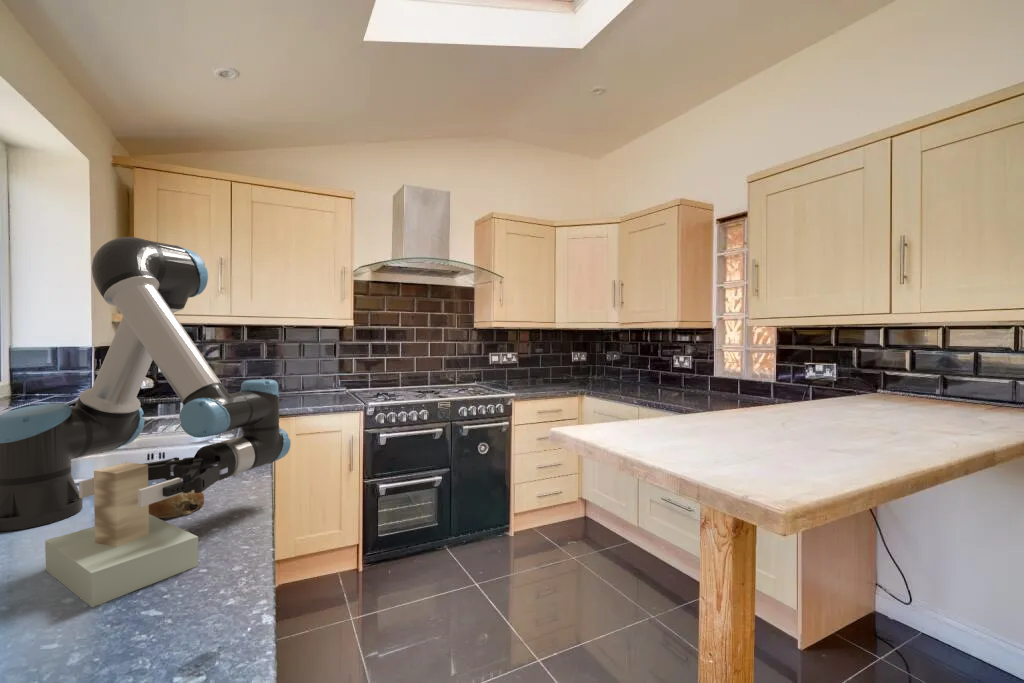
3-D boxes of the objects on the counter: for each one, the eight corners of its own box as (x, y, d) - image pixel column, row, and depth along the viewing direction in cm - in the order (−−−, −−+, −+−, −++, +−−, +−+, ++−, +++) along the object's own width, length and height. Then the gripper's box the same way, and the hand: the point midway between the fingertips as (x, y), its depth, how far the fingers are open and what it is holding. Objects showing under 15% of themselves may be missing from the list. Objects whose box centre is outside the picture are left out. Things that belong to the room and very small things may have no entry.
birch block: (94, 542, 76) (93, 470, 76) (127, 530, 81) (126, 462, 81) (116, 547, 75) (115, 473, 74) (148, 534, 80) (148, 464, 79)
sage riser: (45, 570, 77) (45, 540, 77) (145, 538, 89) (145, 512, 89) (91, 607, 67) (91, 573, 67) (198, 565, 79) (198, 536, 79)
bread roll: (166, 538, 97) (179, 505, 97) (130, 513, 99) (142, 481, 98) (206, 519, 107) (218, 489, 106) (172, 497, 109) (184, 468, 108)
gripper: (272, 483, 93) (166, 526, 72) (178, 472, 100) (58, 508, 79) (272, 446, 93) (165, 478, 72) (178, 437, 100) (57, 464, 79)
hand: (109, 494), depth 76 cm, fingers open, 13 cm apart
